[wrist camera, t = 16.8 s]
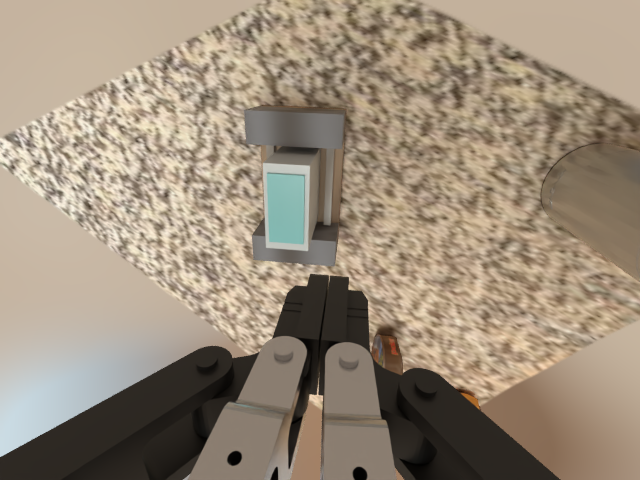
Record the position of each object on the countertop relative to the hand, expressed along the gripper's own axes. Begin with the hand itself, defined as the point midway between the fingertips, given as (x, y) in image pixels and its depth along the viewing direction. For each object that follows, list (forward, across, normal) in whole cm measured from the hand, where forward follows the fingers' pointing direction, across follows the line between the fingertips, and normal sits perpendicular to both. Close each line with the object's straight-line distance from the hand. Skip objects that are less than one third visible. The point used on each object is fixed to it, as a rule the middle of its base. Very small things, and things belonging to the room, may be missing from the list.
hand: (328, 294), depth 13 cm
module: (+26, +5, +3) cm, 26 cm away
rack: (+27, +5, +3) cm, 28 cm away
